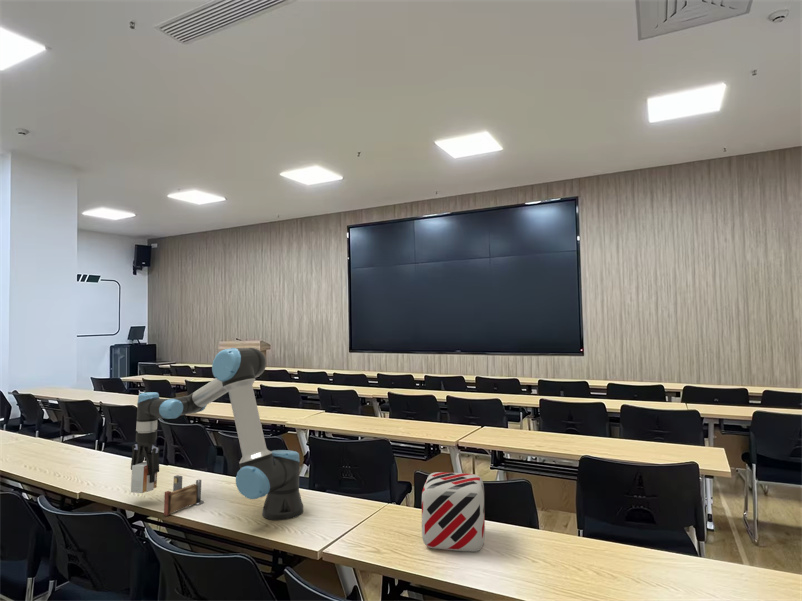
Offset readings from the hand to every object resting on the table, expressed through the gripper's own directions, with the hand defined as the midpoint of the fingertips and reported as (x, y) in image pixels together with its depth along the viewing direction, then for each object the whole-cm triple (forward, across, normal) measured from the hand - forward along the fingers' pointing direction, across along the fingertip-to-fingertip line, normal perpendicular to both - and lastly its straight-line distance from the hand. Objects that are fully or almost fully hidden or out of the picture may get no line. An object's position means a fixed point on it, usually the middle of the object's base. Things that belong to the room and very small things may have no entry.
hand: (143, 489), depth 185 cm
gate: (+5, -19, -2) cm, 20 cm away
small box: (0, 0, 0) cm, 0 cm away
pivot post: (+6, -19, -10) cm, 22 cm away
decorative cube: (+5, -124, -20) cm, 126 cm away
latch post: (+6, -5, -12) cm, 14 cm away
